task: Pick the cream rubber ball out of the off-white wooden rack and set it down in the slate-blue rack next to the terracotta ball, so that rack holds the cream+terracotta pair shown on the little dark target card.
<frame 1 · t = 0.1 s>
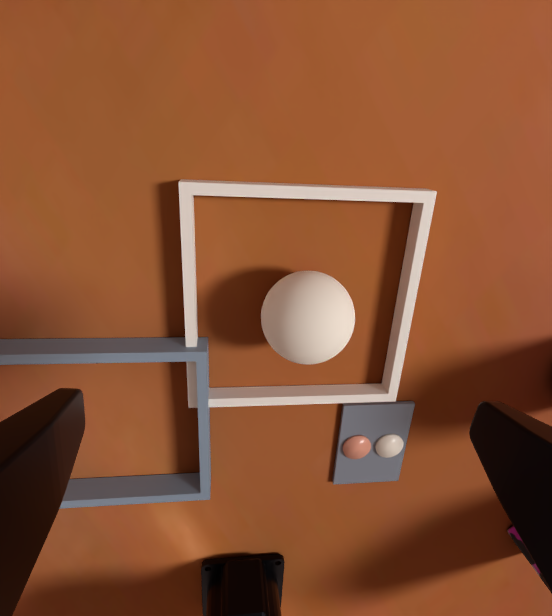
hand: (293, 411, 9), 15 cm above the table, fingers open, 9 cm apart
ball cream: (307, 317, 22), in the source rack
target card: (371, 442, 29), on the table
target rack: (53, 418, 25), on the table
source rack: (299, 300, 24), on the table
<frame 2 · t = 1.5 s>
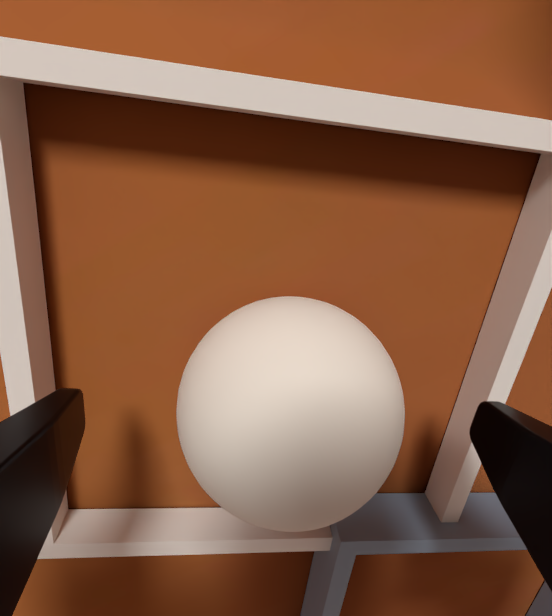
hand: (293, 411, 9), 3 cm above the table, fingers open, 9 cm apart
ball cream: (289, 406, 9), in the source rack
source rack: (276, 352, 11), on the table
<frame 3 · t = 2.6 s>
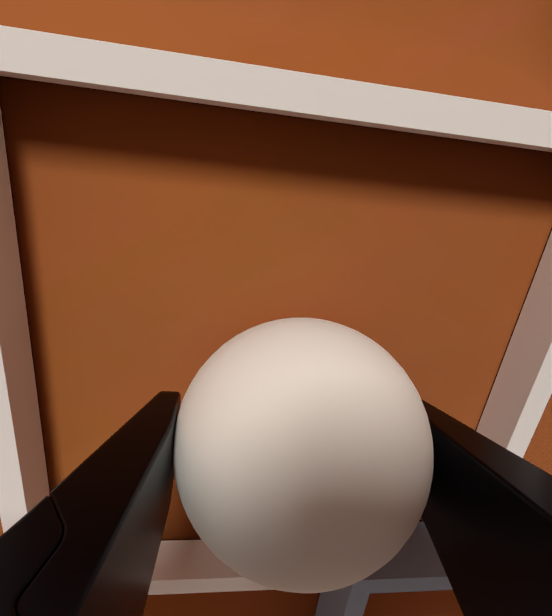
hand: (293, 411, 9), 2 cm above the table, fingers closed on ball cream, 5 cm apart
ball cream: (300, 441, 8), in the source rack, touching gripper
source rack: (283, 374, 10), on the table
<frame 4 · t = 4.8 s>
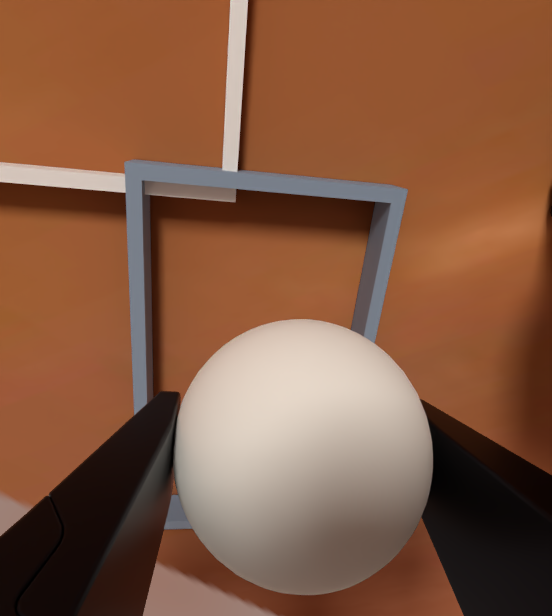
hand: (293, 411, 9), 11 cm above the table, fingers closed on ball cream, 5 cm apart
ball cream: (300, 442, 8), point 12 cm above the table, touching gripper
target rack: (251, 365, 21), on the table
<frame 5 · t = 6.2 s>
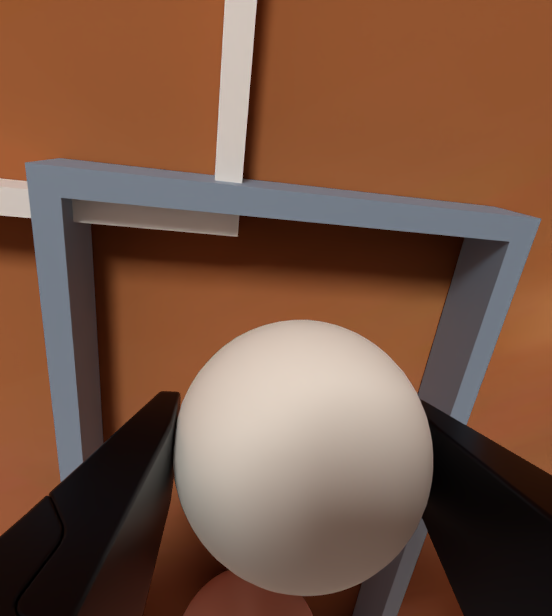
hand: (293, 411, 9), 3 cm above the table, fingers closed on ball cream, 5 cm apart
ball cream: (300, 443, 8), point 4 cm above the table, touching gripper
ball terracotta: (243, 579, 16), resting in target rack
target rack: (257, 473, 14), on the table
when the fingers open (3 cm above the table, at t = 7.2 s): ball cream stays where it is, resting in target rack.
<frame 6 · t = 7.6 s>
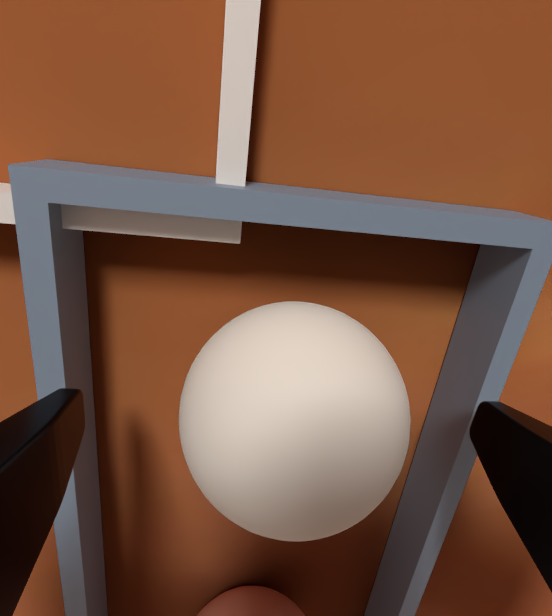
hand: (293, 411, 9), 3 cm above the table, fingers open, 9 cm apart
ball cream: (293, 412, 9), in the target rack
ball terracotta: (245, 598, 15), resting in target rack
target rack: (260, 489, 13), on the table
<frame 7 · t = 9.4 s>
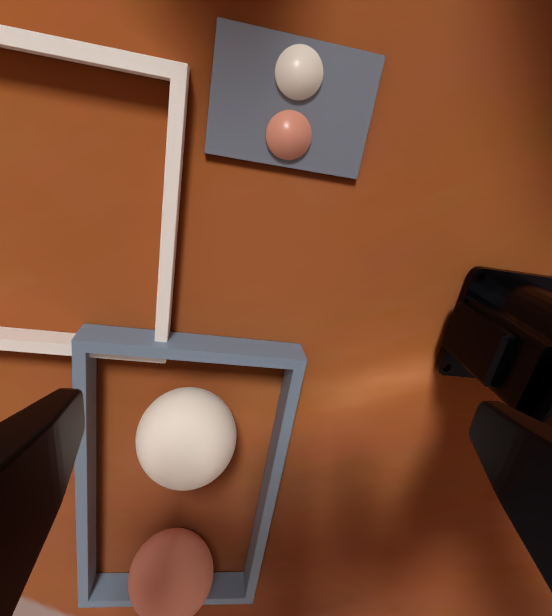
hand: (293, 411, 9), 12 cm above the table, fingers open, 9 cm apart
ball cream: (187, 436, 20), in the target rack
ball terracotta: (176, 536, 27), resting in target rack
target card: (292, 105, 17), on the table
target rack: (182, 473, 25), on the table
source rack: (24, 207, 18), on the table
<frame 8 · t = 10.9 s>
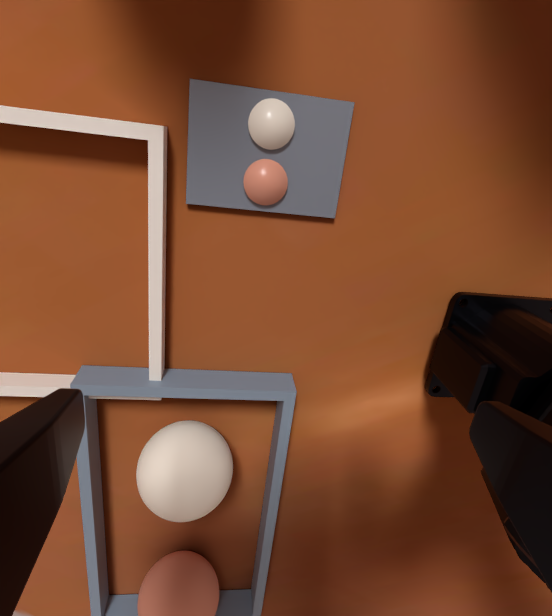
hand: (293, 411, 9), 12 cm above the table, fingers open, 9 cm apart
ball cream: (185, 469, 21), in the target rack
ball terracotta: (183, 558, 28), resting in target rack
target card: (267, 153, 18), on the table
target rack: (185, 499, 26), on the table
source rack: (19, 262, 19), on the table
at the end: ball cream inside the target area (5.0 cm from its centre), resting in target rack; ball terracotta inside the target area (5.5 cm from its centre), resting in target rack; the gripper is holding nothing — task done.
